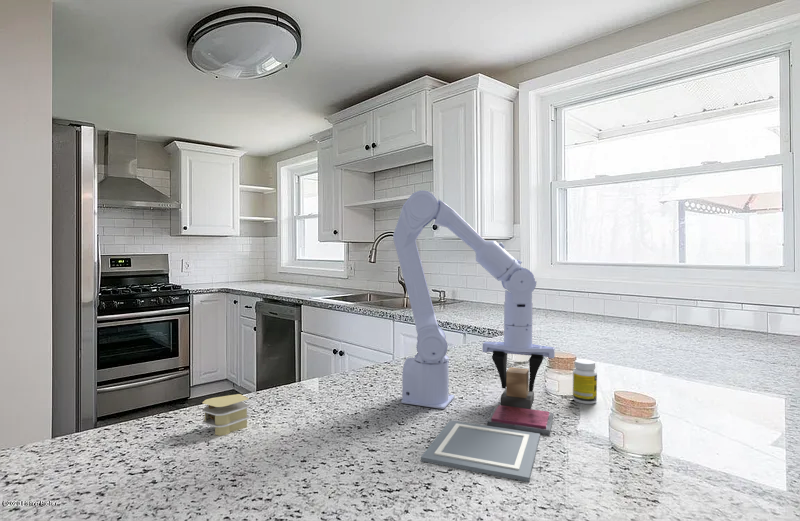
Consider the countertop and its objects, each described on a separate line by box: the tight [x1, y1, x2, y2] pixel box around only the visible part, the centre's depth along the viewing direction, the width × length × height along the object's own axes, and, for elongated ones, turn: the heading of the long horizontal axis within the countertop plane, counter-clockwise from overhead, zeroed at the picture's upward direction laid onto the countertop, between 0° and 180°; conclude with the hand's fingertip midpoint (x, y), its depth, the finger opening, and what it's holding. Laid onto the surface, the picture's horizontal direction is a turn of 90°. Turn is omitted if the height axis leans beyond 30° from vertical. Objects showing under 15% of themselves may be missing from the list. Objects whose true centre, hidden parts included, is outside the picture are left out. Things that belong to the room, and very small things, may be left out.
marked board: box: [420, 419, 541, 483], centre depth 73 cm, size 16×16×1 cm
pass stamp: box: [500, 366, 535, 409], centre depth 94 cm, size 6×6×7 cm
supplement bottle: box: [572, 358, 598, 405], centre depth 95 cm, size 5×5×8 cm
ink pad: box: [486, 404, 554, 436], centre depth 84 cm, size 11×9×1 cm
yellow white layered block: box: [202, 393, 250, 437], centre depth 81 cm, size 10×9×6 cm
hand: (517, 388), depth 94 cm, fingers open, 5 cm apart
